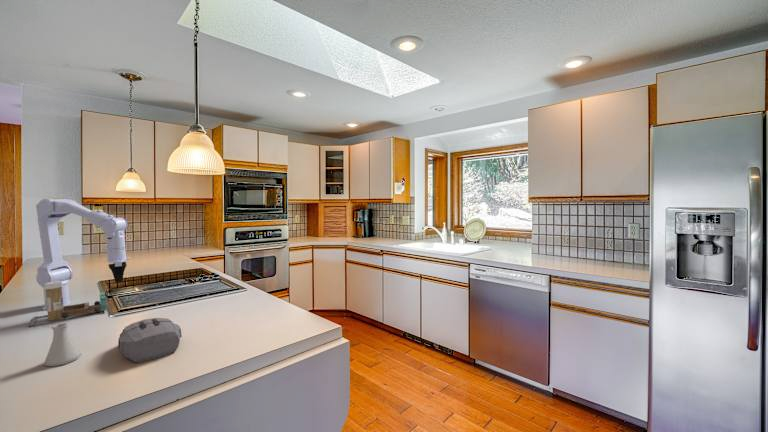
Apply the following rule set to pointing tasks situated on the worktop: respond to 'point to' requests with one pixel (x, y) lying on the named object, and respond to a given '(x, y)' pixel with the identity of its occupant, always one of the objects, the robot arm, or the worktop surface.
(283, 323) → the worktop surface
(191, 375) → the worktop surface
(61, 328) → the flask
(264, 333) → the worktop surface
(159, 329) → the grey rounded bag
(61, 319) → the dark grey flat frame
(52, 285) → the sprinkles bottle
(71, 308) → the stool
